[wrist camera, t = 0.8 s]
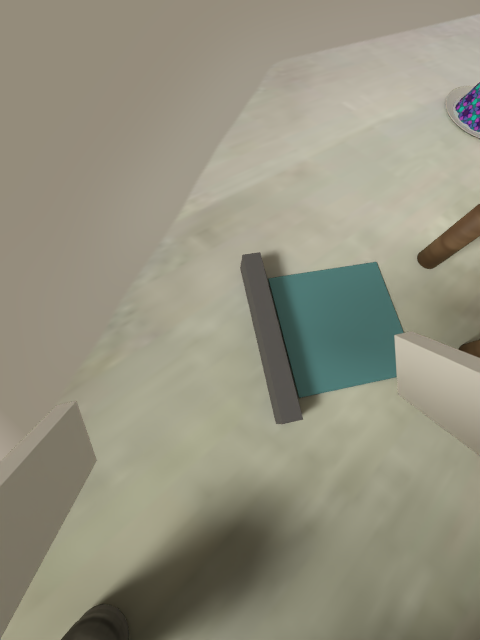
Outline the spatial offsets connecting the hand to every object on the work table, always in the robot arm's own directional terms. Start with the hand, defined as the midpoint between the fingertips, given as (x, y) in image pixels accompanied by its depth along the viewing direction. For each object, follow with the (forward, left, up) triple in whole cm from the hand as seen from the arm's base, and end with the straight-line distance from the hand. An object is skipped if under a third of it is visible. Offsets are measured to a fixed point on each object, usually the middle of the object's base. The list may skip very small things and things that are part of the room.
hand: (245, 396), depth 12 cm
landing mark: (+7, -15, -19) cm, 25 cm away
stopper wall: (+7, -6, -19) cm, 21 cm away
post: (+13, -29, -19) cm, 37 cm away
